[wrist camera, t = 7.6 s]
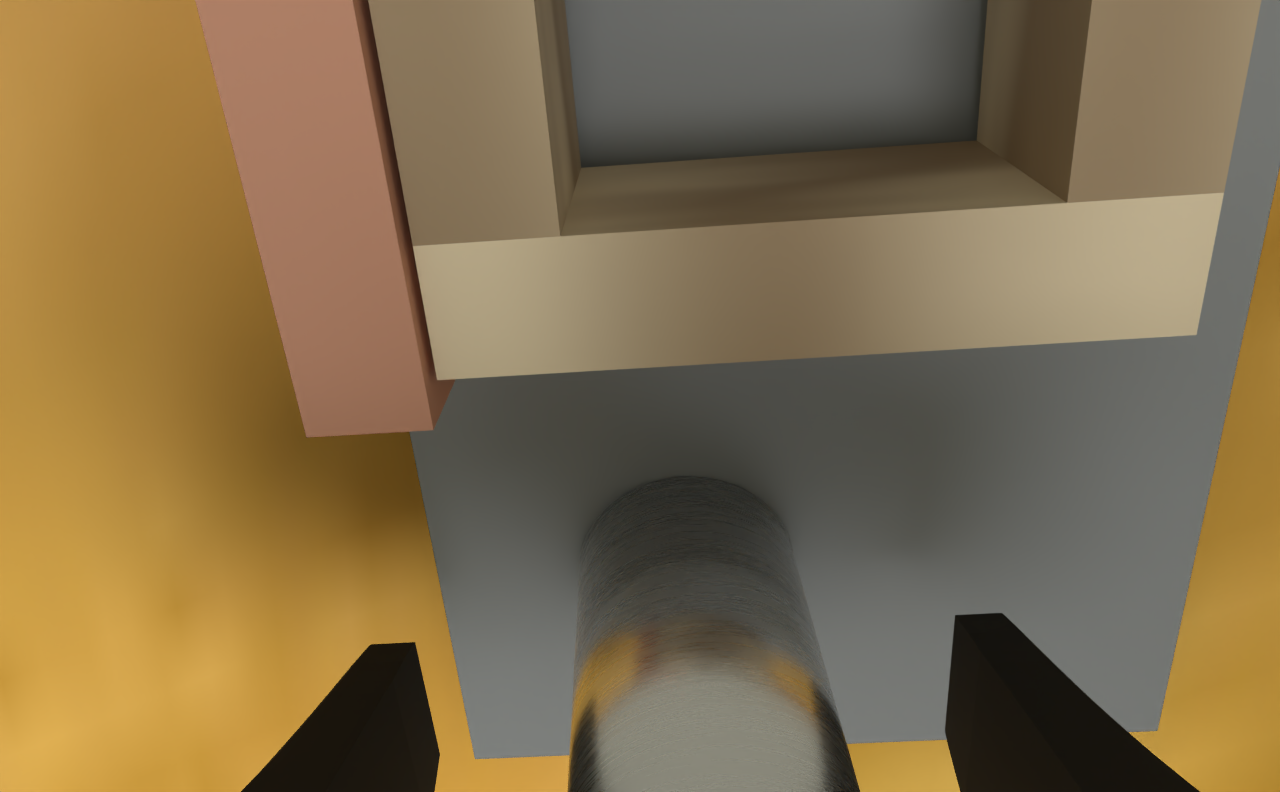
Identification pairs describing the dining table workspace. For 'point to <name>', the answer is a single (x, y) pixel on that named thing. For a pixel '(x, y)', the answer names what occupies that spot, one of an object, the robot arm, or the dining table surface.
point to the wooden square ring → (815, 200)
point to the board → (751, 367)
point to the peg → (698, 652)
